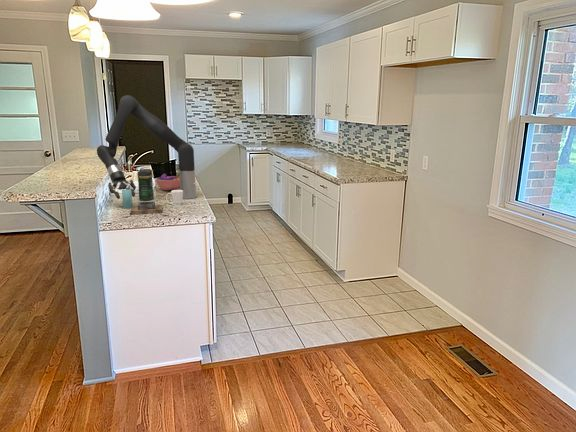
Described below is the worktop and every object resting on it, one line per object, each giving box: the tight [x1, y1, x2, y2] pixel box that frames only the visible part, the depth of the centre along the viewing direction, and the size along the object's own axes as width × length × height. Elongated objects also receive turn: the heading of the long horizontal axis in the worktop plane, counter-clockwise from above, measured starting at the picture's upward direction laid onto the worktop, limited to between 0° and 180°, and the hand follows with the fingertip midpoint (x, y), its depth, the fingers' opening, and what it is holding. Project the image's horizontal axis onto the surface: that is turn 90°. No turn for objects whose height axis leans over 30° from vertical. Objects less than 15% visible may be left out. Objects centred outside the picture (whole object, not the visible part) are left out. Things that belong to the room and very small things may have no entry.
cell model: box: [154, 173, 180, 192], centre depth 294 cm, size 17×20×11 cm
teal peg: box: [121, 189, 134, 209], centre depth 246 cm, size 5×5×10 cm
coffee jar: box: [137, 168, 155, 202], centre depth 266 cm, size 10×8×19 cm
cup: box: [165, 189, 183, 206], centre depth 254 cm, size 7×10×8 cm
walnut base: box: [130, 200, 163, 216], centre depth 239 cm, size 16×12×4 cm
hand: (126, 197), depth 246 cm, fingers open, 8 cm apart
